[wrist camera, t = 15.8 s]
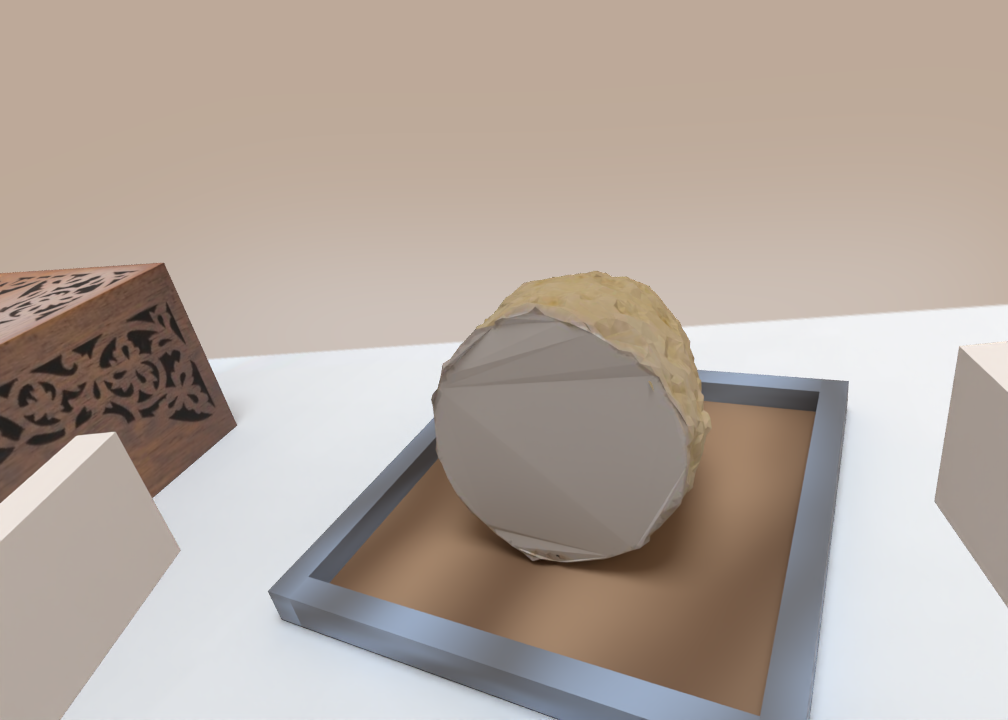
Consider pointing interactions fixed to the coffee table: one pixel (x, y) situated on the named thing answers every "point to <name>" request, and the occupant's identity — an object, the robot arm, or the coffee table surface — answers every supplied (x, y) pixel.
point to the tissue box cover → (103, 371)
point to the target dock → (606, 577)
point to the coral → (573, 417)
